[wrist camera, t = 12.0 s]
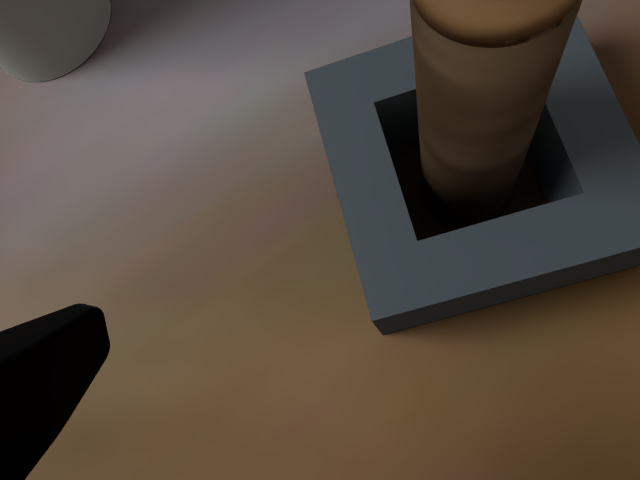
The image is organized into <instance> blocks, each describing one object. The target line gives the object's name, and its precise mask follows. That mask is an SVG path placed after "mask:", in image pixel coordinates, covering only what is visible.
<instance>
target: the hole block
mask: <svg viewBox="0 0 640 480" xmlns="http://www.w3.org/2000/svg"><path fill="white" fill-rule="evenodd" d="M304 74H305V77H306V81H307V85H308V88H309V92H310V96H311V99H312V103H313V107H314V111H315V114H316V118H317V122H318V125H319V129H320V133H321V136H322V140H323V144H324V147H325V151H326V155H327V158H328V162H329V166H330V169H331V173H332V177H333V180H334V184H335V188H336V191H337V195H338V199H339V203H340V206H341V210H342V214H343V217H344V221H345V225H346V228H347V232H348V236H349V239H350V243H351V247H352V250H353V254H354V258H355V261H356V265H357V269H358V272H359V276H360V280H361V284H362V287H363V291H364V295H365V298H366V302H367V306H368V309H369V313H370V317H371V320H372V322H373V323H374V325H375V326H376V327H377V328H378V330H379V331H380V332H381V333H382V335H385V334H388V333H392V332H396V331H399V330H403V329H407V328H410V327H414V326H418V325H422V324H425V323H429V322H433V321H436V320H440V319H444V318H447V317H451V316H455V315H458V314H462V313H466V312H470V311H473V310H477V309H481V308H484V307H488V306H492V305H495V304H499V303H503V302H506V301H510V300H514V299H518V298H521V297H525V296H529V295H532V294H536V293H540V292H543V291H547V290H551V289H554V288H558V287H562V286H566V285H569V284H573V283H577V282H580V281H584V280H588V279H591V278H595V277H599V276H602V275H606V274H610V273H614V272H617V271H621V270H625V269H628V268H632V267H636V266H639V265H640V144H639V142H638V140H637V138H636V136H635V134H634V132H633V130H632V128H631V126H630V124H629V122H628V120H627V118H626V115H625V113H624V111H623V109H622V107H621V105H620V103H619V101H618V99H617V97H616V95H615V93H614V91H613V89H612V87H611V85H610V82H609V80H608V78H607V76H606V74H605V72H604V70H603V68H602V66H601V64H600V62H599V60H598V58H597V56H596V54H595V52H594V50H593V47H592V45H591V43H590V41H589V39H588V37H587V35H586V33H585V31H584V29H583V27H582V25H581V23H580V21H579V19H578V17H577V16H576V19H575V22H574V24H573V27H572V30H571V33H570V36H569V38H568V41H567V44H566V47H565V49H564V52H563V55H562V58H561V60H560V63H559V66H558V69H557V72H556V74H555V77H554V80H553V83H552V85H551V88H550V91H549V94H548V97H547V99H546V102H545V105H544V108H543V110H542V113H541V116H540V119H539V121H538V124H537V127H536V130H535V133H534V135H533V138H532V141H531V144H530V146H529V149H528V152H527V153H528V155H529V158H530V160H531V162H532V165H533V167H534V170H535V172H536V175H537V177H538V180H539V182H540V185H541V187H542V189H543V192H544V194H545V197H546V199H547V202H548V203H547V204H544V205H540V206H537V207H533V208H530V209H527V210H523V211H520V212H516V213H513V214H509V215H506V216H502V217H499V218H496V219H492V220H489V221H485V222H482V223H478V224H475V225H471V226H468V227H464V228H461V229H458V230H454V231H451V232H447V233H444V234H440V235H437V236H433V237H430V238H426V239H423V240H420V241H417V239H416V236H415V232H414V229H413V226H412V223H411V220H410V216H409V213H408V210H407V207H406V204H405V201H404V197H403V194H402V191H401V188H400V185H399V181H398V178H397V175H396V172H395V169H394V166H393V162H392V159H391V156H390V153H389V150H388V148H389V147H392V146H395V145H398V144H401V143H405V142H408V141H411V140H414V139H417V138H419V126H418V111H417V97H416V82H415V67H414V53H413V38H412V37H409V38H406V39H403V40H400V41H397V42H394V43H391V44H388V45H385V46H382V47H379V48H376V49H373V50H370V51H367V52H364V53H361V54H358V55H355V56H352V57H349V58H346V59H343V60H340V61H337V62H334V63H331V64H328V65H326V66H323V67H320V68H317V69H314V70H311V71H308V72H305V73H304Z"/></svg>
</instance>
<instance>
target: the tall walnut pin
mask: <svg viewBox="0 0 640 480" xmlns="http://www.w3.org/2000/svg"><path fill="white" fill-rule="evenodd" d="M581 2H582V0H410V9H411V24H412V38H413V53H414V67H415V82H416V97H417V111H418V126H419V141H420V155H421V170H422V184H423V195H424V199H425V202H426V204H427V206H428V208H429V210H430V211H431V212H432V213H433V215H434V216H435V217H437V218H438V219H439V220H440V221H442V222H444V223H445V224H447V225H450V226H453V227H457V228H464V227H468V226H471V225H475V224H478V223H482V222H485V221H489V220H492V219H496V218H498V217H499V216H500V215H501V214H502V213H503V212H504V211H505V209H506V208H507V206H508V204H509V201H510V199H511V196H512V193H513V191H514V188H515V185H516V182H517V180H518V177H519V174H520V171H521V169H522V166H523V163H524V160H525V157H526V155H527V152H528V149H529V146H530V144H531V141H532V138H533V135H534V133H535V130H536V127H537V124H538V121H539V119H540V116H541V113H542V110H543V108H544V105H545V102H546V99H547V97H548V94H549V91H550V88H551V85H552V83H553V80H554V77H555V74H556V72H557V69H558V66H559V63H560V60H561V58H562V55H563V52H564V49H565V47H566V44H567V41H568V38H569V36H570V33H571V30H572V27H573V24H574V22H575V19H576V16H577V13H578V11H579V8H580V5H581Z"/></svg>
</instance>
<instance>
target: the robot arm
mask: <svg viewBox="0 0 640 480" xmlns="http://www.w3.org/2000/svg"><path fill="white" fill-rule="evenodd" d="M109 350H110V341H109V336H108V331H107V326H106V322H105V317H104V313H103V312H102V310H101V309H100V308H98V307H95V306H91V305H86V304H80V303H79V304H74V305H72V306H69V307H66V308H64V309H61V310H58V311H55V312H53V313H50V314H47V315H44V316H42V317H39V318H36V319H33V320H31V321H28V322H25V323H22V324H20V325H17V326H14V327H12V328H9V329H6V330H3V331H1V332H0V480H25V479H26V477H27V476H28V475H29V473H30V472H31V471H32V469H33V468H34V467H35V465H36V464H37V463H38V461H39V460H40V459H41V458H42V456H43V455H44V454H45V452H46V451H47V450H48V448H49V447H50V446H51V444H52V443H53V442H54V440H55V439H56V437H57V436H58V435H59V433H60V432H61V430H62V429H63V427H64V426H65V424H66V423H67V421H68V420H69V418H70V417H71V415H72V413H73V412H74V410H75V409H76V407H77V405H78V404H79V402H80V400H81V399H82V397H83V396H84V394H85V392H86V391H87V389H88V387H89V386H90V384H91V383H92V381H93V379H94V378H95V376H96V374H97V373H98V371H99V370H100V368H101V366H102V365H103V363H104V361H105V360H106V358H107V356H108V353H109Z"/></svg>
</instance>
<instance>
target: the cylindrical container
mask: <svg viewBox="0 0 640 480" xmlns="http://www.w3.org/2000/svg"><path fill="white" fill-rule="evenodd" d="M110 15H111V4H110V0H0V68H1V69H3V70H4V71H5V72H7V73H8V74H9V75H11V76H13V77H15V78H17V79H19V80H23V81H27V82H43V81H48V80H53V79H56V78H58V77H61V76H63V75H66V74H67V73H69V72H71V71H72V70H74V69H76V68H77V67H78V66H80V65H81V64H82V63H83V62H85V61H86V60H87V59H88V58H89V57H90V56H91V55H92V53H93V52H94V51H95V50H96V48H97V47H98V46H99V44H100V43H101V41H102V39H103V37H104V35H105V33H106V31H107V29H108V25H109V21H110Z"/></svg>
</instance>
